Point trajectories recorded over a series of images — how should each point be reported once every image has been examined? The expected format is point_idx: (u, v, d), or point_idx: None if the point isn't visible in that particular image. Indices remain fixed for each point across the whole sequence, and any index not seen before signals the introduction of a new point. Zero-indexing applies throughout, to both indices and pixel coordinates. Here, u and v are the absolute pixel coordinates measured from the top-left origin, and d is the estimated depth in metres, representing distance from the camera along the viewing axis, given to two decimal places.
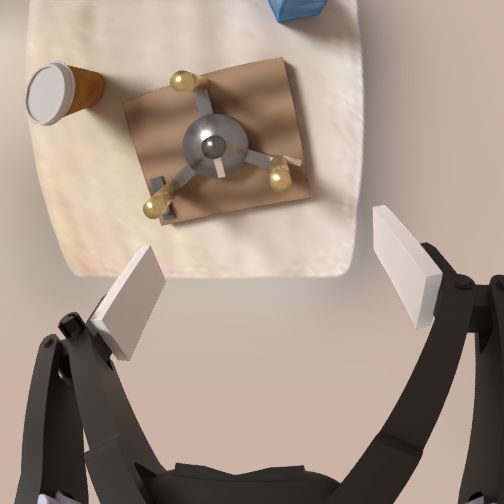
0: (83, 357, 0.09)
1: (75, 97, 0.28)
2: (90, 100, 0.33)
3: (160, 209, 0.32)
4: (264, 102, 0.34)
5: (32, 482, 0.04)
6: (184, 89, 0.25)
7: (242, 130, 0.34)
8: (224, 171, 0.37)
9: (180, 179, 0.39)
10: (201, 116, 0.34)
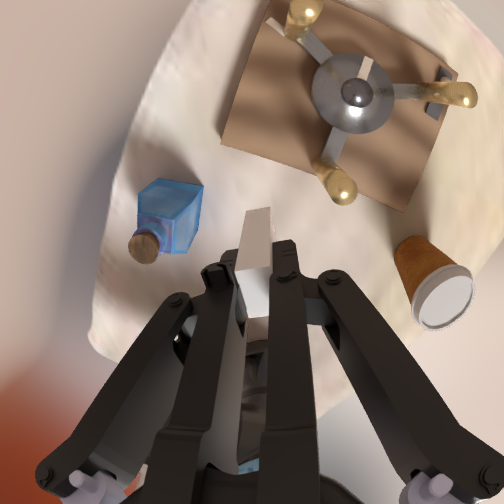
0: (215, 318, 0.10)
1: (433, 268, 0.28)
2: (422, 246, 0.33)
3: (461, 85, 0.15)
4: (270, 103, 0.27)
5: (76, 454, 0.05)
6: (347, 179, 0.21)
7: (314, 87, 0.24)
8: (362, 61, 0.22)
9: (412, 92, 0.23)
10: (346, 133, 0.26)
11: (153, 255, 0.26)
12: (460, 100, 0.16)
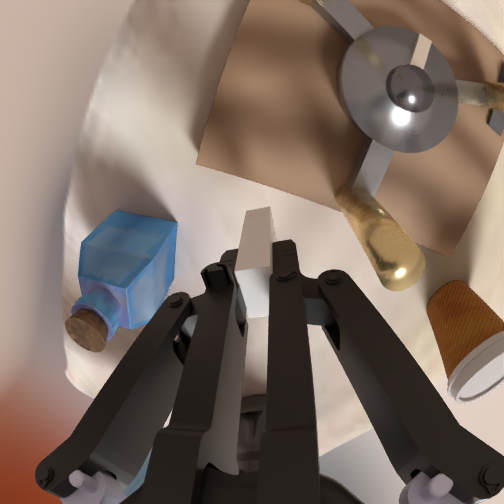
0: (215, 318, 0.10)
1: (481, 335, 0.18)
2: (466, 298, 0.23)
3: None
4: (273, 99, 0.17)
5: (76, 454, 0.05)
6: (412, 249, 0.11)
7: (345, 75, 0.14)
8: (416, 41, 0.12)
9: (478, 94, 0.13)
10: (392, 150, 0.16)
11: (99, 344, 0.15)
12: None
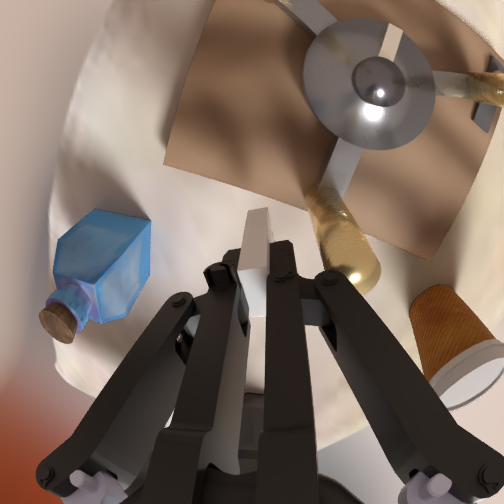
0: (217, 317, 0.10)
1: (462, 344, 0.18)
2: (449, 303, 0.22)
3: None
4: (236, 98, 0.17)
5: (77, 454, 0.05)
6: (363, 254, 0.11)
7: (306, 72, 0.14)
8: (385, 31, 0.11)
9: (459, 85, 0.13)
10: (361, 148, 0.16)
11: (68, 336, 0.16)
12: None
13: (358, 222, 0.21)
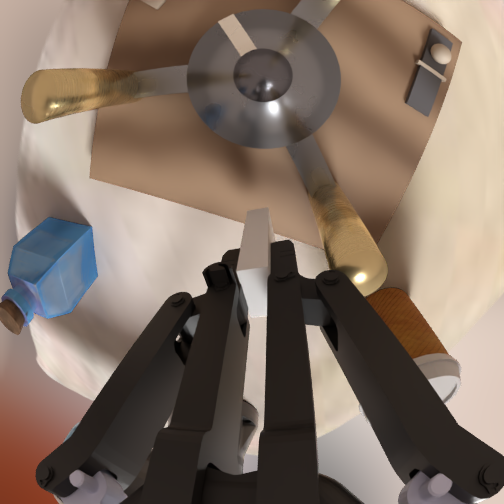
0: (217, 317, 0.10)
1: None
2: (393, 309, 0.23)
3: None
4: (141, 112, 0.17)
5: (76, 454, 0.05)
6: (350, 256, 0.11)
7: (212, 126, 0.16)
8: (224, 30, 0.12)
9: None
10: (309, 136, 0.16)
11: (16, 328, 0.16)
12: None
13: None
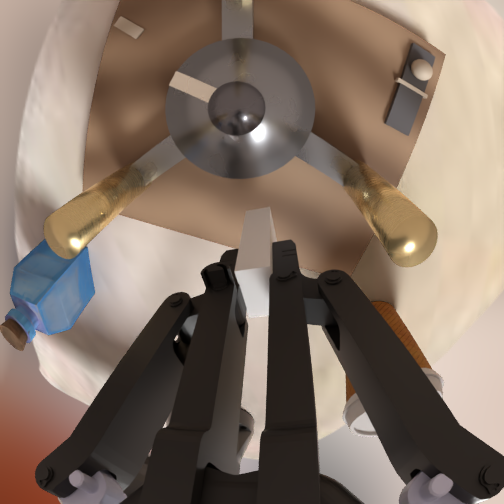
0: (215, 318, 0.10)
1: None
2: None
3: None
4: (126, 142, 0.18)
5: (76, 454, 0.05)
6: (395, 232, 0.10)
7: (224, 174, 0.17)
8: (179, 89, 0.14)
9: (237, 4, 0.12)
10: (309, 135, 0.16)
11: (20, 345, 0.17)
12: None
13: None
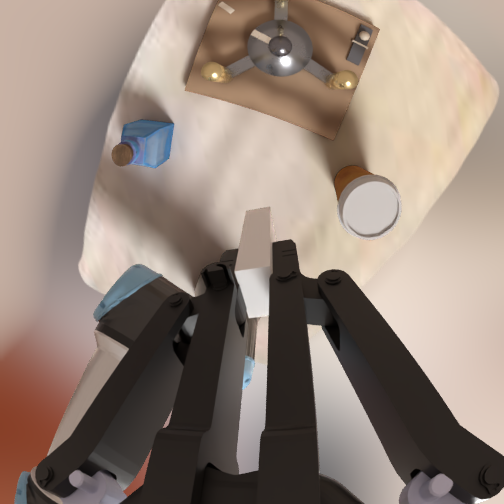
0: (215, 318, 0.10)
1: (355, 178, 0.36)
2: (354, 169, 0.40)
3: None
4: (220, 60, 0.34)
5: (76, 454, 0.05)
6: (340, 74, 0.26)
7: (272, 73, 0.33)
8: (255, 37, 0.30)
9: (281, 6, 0.27)
10: (310, 60, 0.32)
11: (127, 158, 0.33)
12: None
13: (282, 115, 0.38)
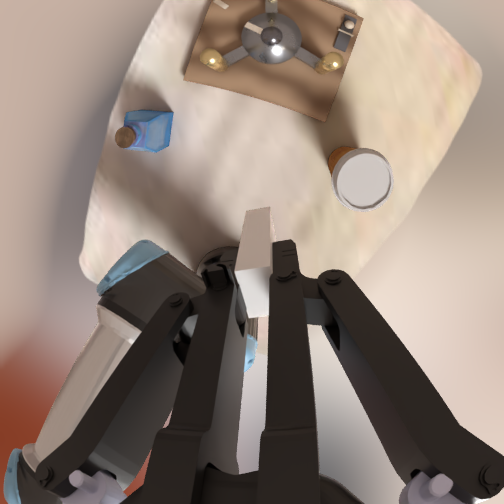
0: (215, 318, 0.10)
1: None
2: (346, 148, 0.41)
3: None
4: None
5: (76, 454, 0.05)
6: (327, 56, 0.28)
7: (265, 61, 0.35)
8: (248, 28, 0.32)
9: (271, 0, 0.29)
10: (300, 47, 0.33)
11: (130, 140, 0.34)
12: None
13: (275, 100, 0.40)
